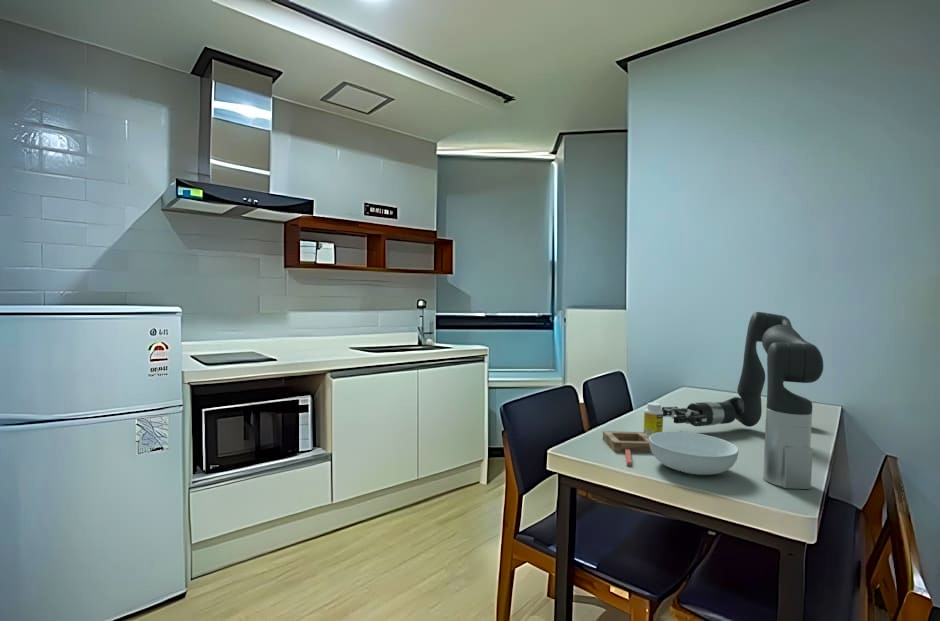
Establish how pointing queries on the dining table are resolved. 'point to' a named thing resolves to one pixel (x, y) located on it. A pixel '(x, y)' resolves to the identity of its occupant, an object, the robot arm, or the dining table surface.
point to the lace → (628, 457)
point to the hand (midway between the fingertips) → (664, 416)
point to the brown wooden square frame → (627, 441)
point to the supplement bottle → (653, 419)
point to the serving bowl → (693, 452)
